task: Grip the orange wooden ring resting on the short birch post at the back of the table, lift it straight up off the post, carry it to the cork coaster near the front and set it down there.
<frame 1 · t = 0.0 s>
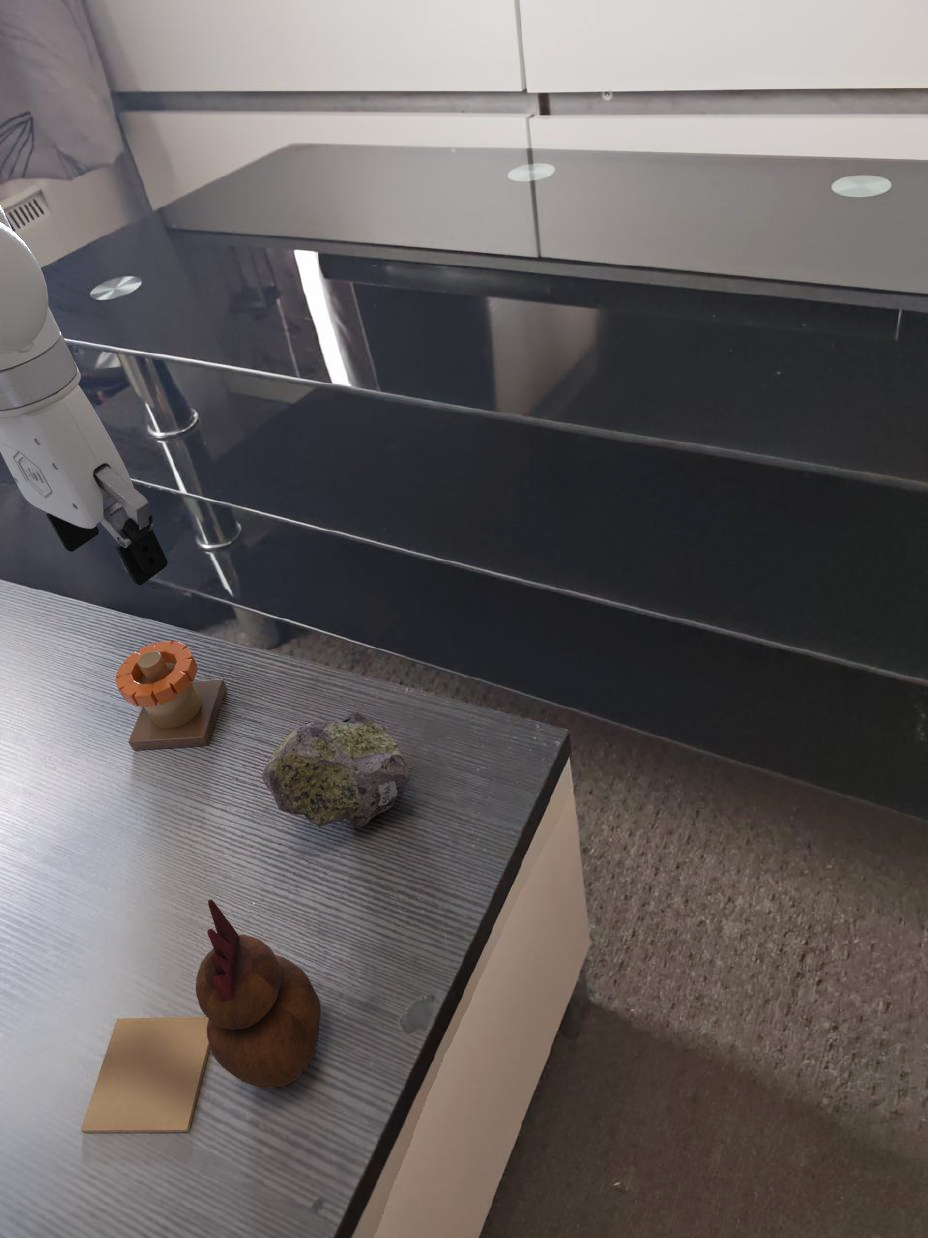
hand: (116, 557, 77), 15 cm above the table, tool pointing down, fingers open, 9 cm apart
post: (181, 718, 83), on the table
rock: (357, 811, 72), on the table
ring: (159, 678, 79), point 5 cm above the table, touching post
wooden figurine: (285, 1051, 59), on the table
coaster: (152, 1074, 59), on the table
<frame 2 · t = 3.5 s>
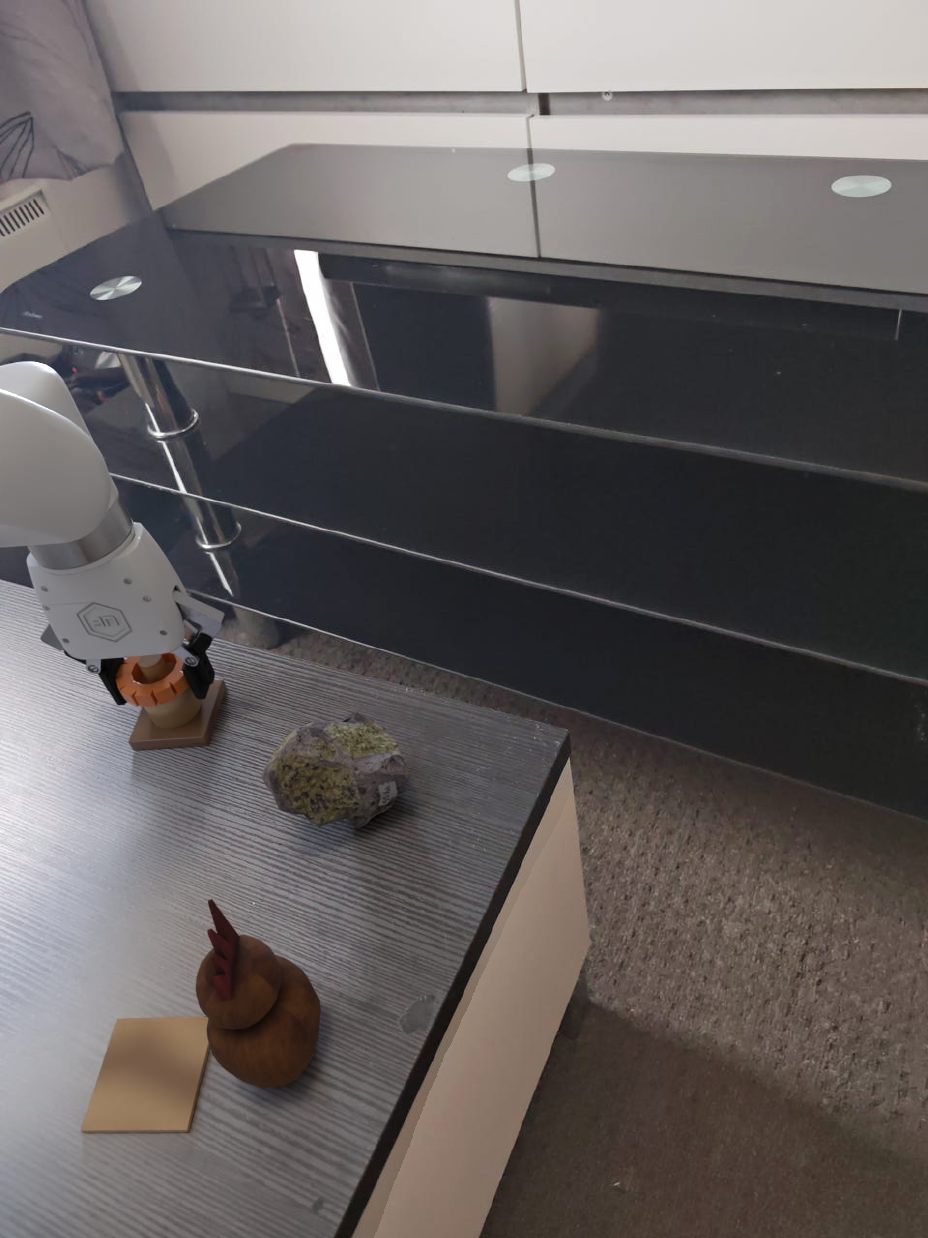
hand: (165, 689, 80), 4 cm above the table, tool pointing down, fingers closed on ring, 6 cm apart
ring: (159, 678, 79), point 5 cm above the table, touching gripper, post
everything else where it was.
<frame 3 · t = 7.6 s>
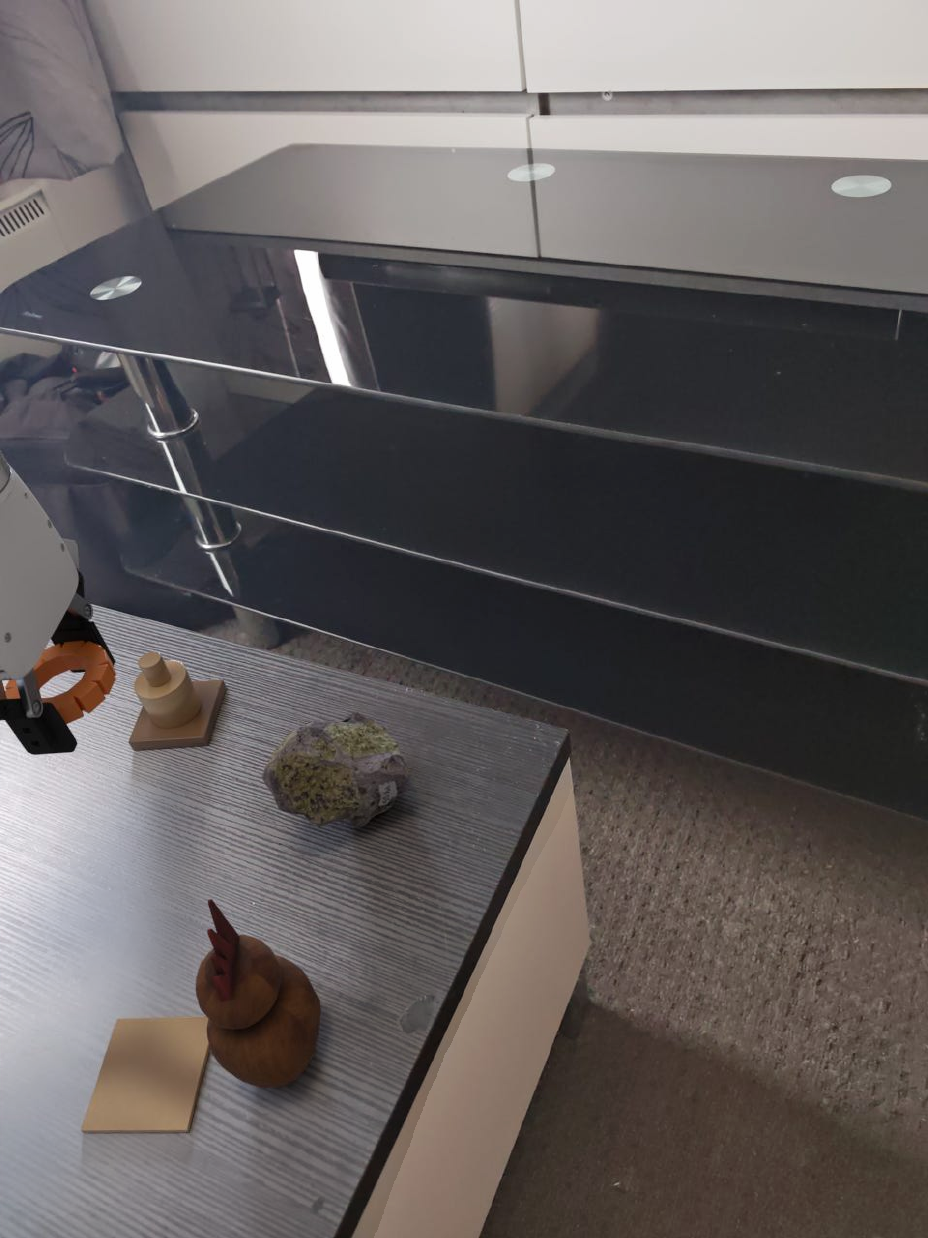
hand: (74, 705, 61), 17 cm above the table, tool pointing down, fingers closed on ring, 6 cm apart
ring: (65, 690, 60), point 19 cm above the table, touching gripper
everything else where it was.
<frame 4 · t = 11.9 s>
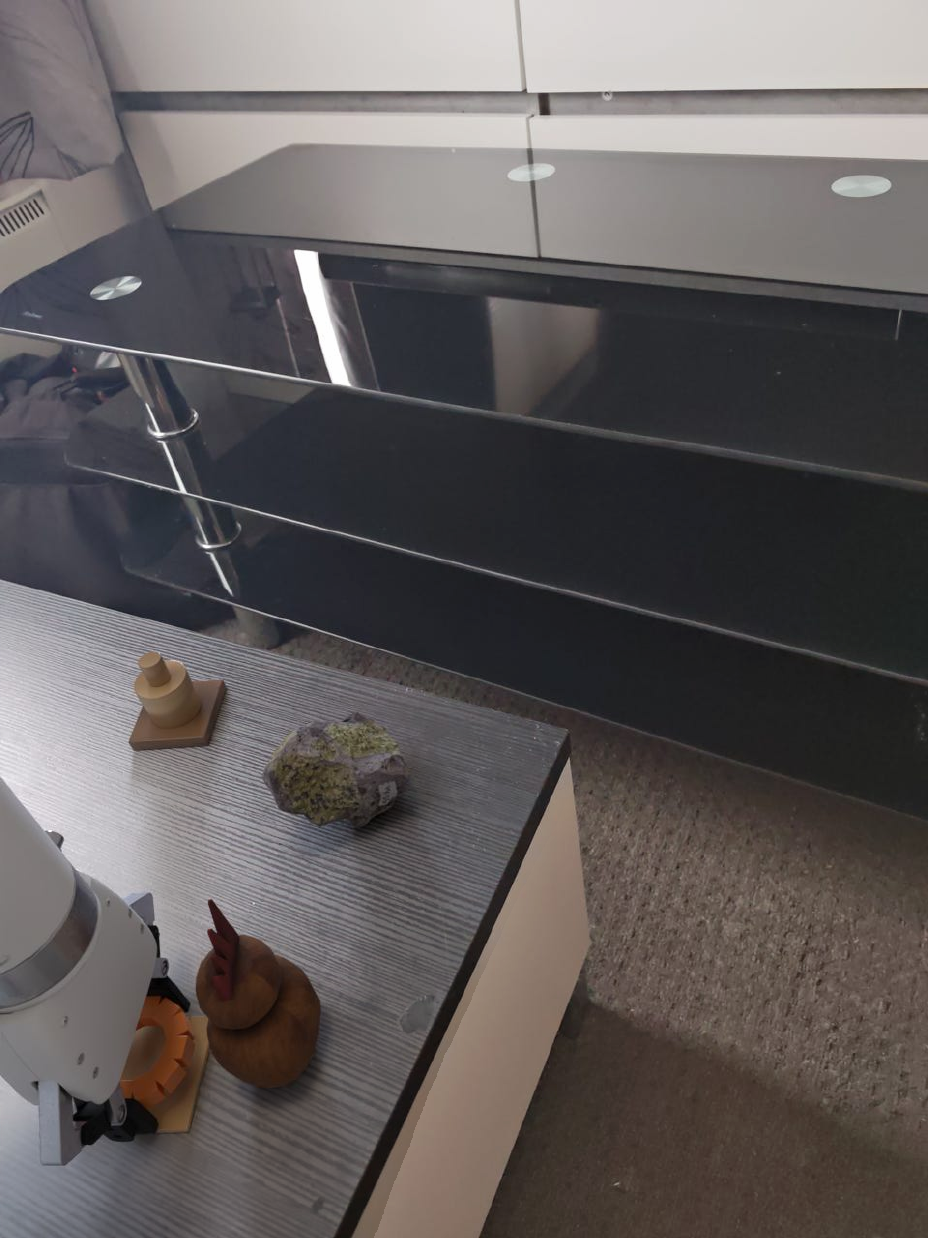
hand: (151, 1066, 59), 1 cm above the table, tool pointing down, fingers closed on ring, 6 cm apart
ring: (143, 1057, 58), point 2 cm above the table, touching gripper
everything else where it was.
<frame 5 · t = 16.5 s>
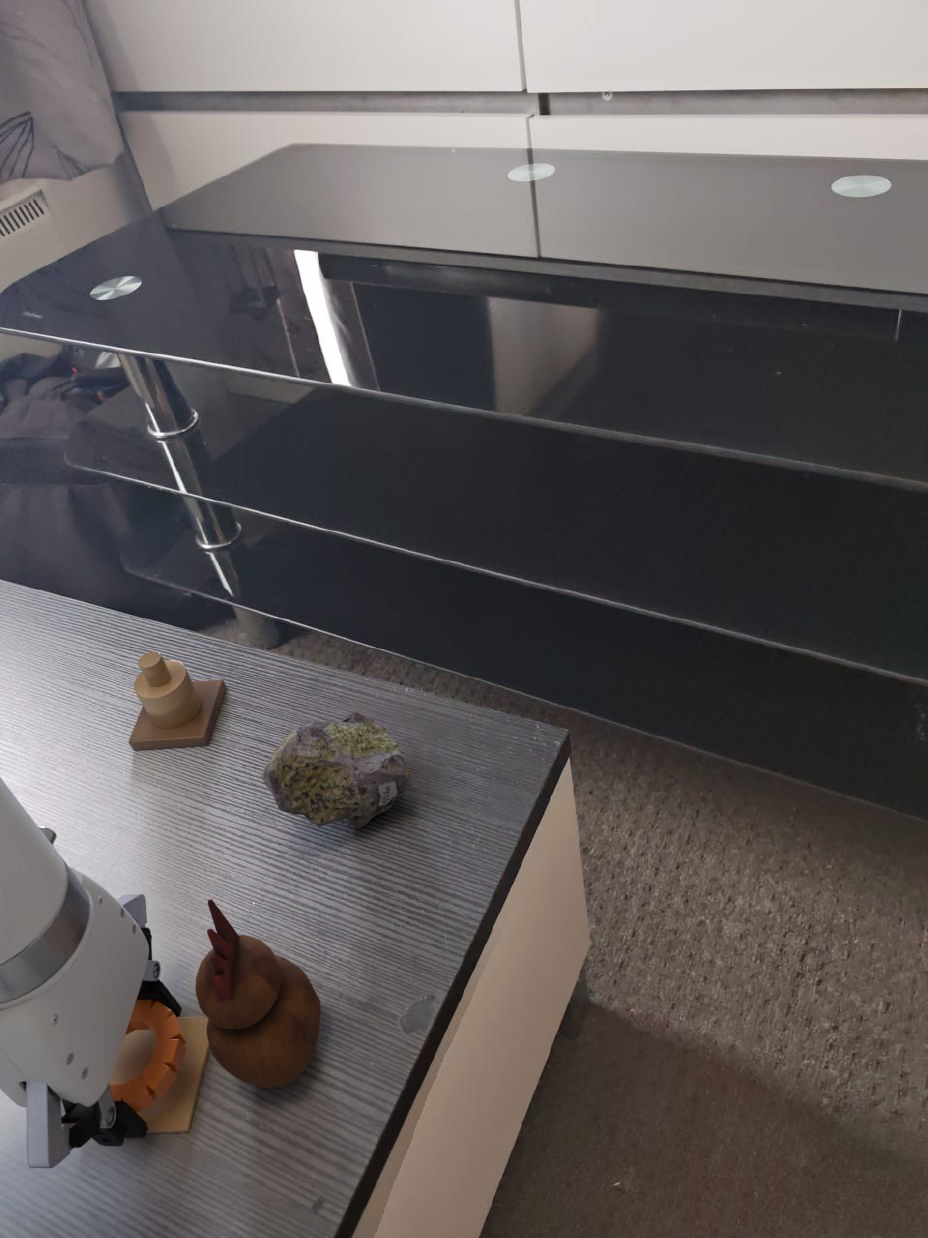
hand: (141, 1070, 58), 1 cm above the table, tool pointing down, fingers closed on ring, 6 cm apart
ring: (134, 1061, 57), point 3 cm above the table, touching gripper
everything else where it was.
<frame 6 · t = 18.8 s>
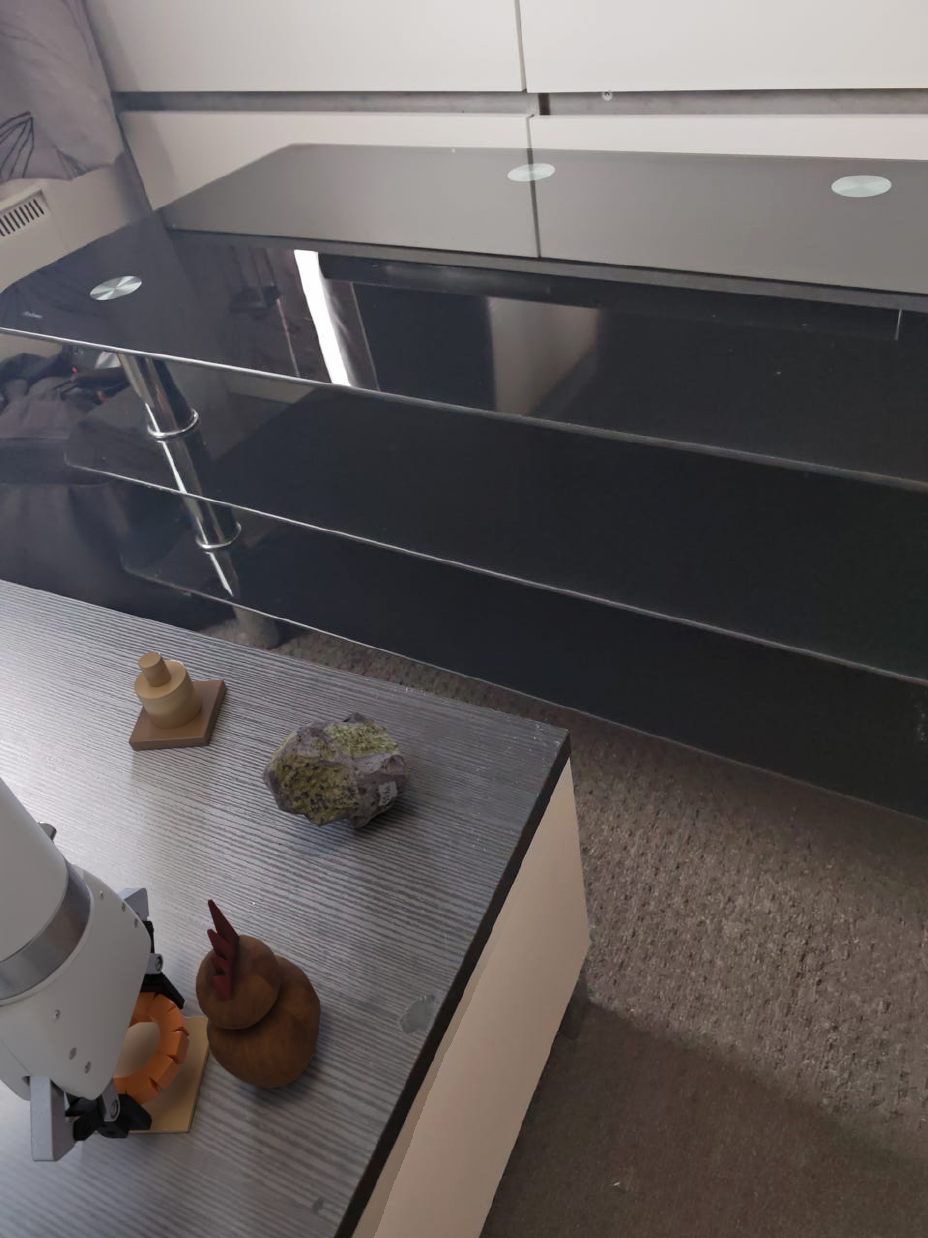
hand: (145, 1062, 58), 1 cm above the table, tool pointing down, fingers closed on ring, 6 cm apart
ring: (137, 1053, 57), point 3 cm above the table, touching gripper
everything else where it was.
when the fingers open (1 cm above the table, at t = 20.7 s): ring drops 2 cm, resting on coaster.
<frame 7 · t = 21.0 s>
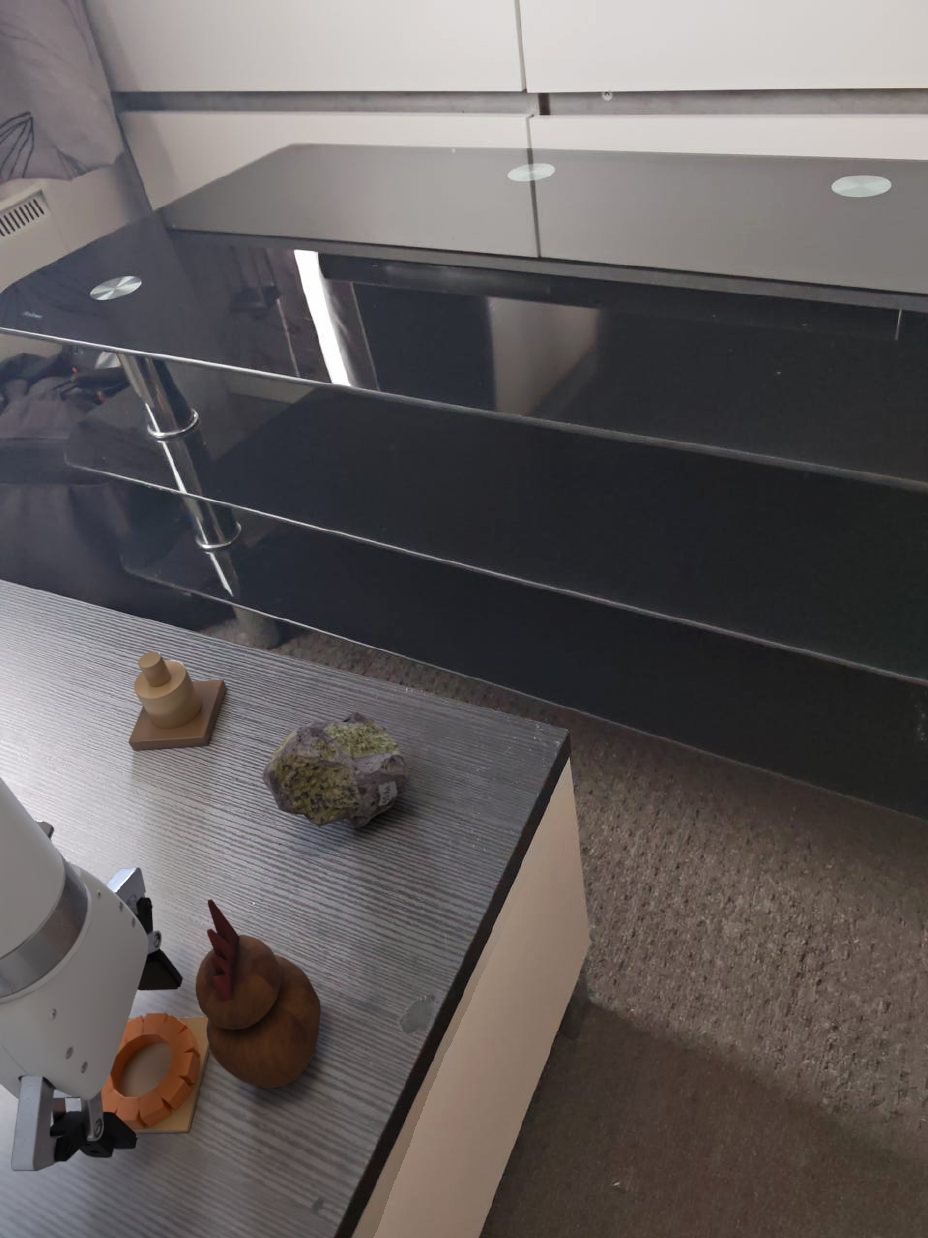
hand: (138, 1059, 58), 2 cm above the table, tool pointing down, fingers open, 9 cm apart
ring: (149, 1073, 59), resting on coaster
everything else where it was.
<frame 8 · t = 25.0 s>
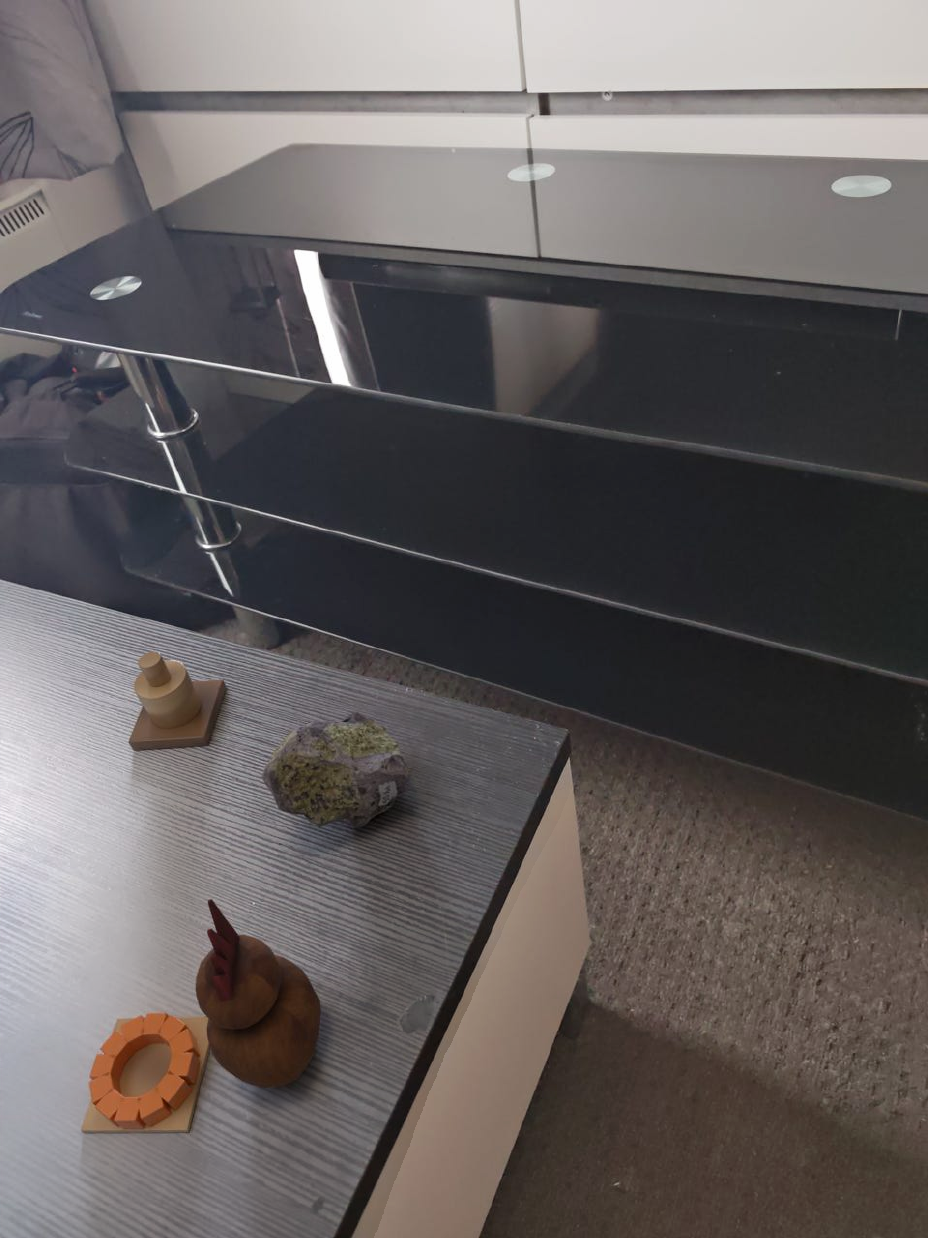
nothing on the table moved.
at the end: ring 0.1 cm off-centre on the coaster, point 0.4 cm above the coaster's base; ring touching coaster; ring tilted 0° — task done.
